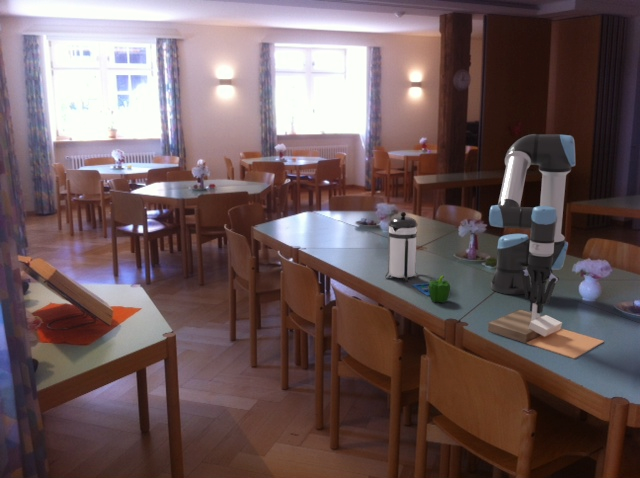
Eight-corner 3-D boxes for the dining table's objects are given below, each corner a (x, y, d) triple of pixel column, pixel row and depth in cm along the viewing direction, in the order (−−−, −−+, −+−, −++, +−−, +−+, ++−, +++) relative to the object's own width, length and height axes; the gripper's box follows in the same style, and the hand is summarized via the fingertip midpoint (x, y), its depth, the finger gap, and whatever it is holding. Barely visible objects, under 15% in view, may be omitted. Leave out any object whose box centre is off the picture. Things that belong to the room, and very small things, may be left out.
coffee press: (424, 282, 260) (426, 214, 254) (388, 283, 259) (389, 215, 252) (415, 271, 277) (417, 207, 271) (381, 272, 276) (382, 208, 269)
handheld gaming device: (427, 294, 241) (412, 283, 255) (427, 297, 242) (412, 286, 256) (446, 292, 244) (429, 282, 258) (445, 295, 244) (429, 284, 258)
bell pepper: (438, 305, 230) (439, 281, 228) (424, 300, 237) (425, 275, 235) (454, 302, 234) (455, 277, 232) (440, 296, 241) (441, 272, 239)
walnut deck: (519, 317, 217) (520, 309, 217) (556, 328, 207) (556, 320, 206) (488, 331, 205) (488, 322, 204) (525, 343, 194) (525, 334, 194)
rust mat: (557, 328, 207) (557, 327, 206) (603, 342, 195) (603, 341, 195) (526, 343, 194) (526, 342, 194) (574, 359, 182) (574, 357, 182)
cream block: (544, 321, 204) (546, 314, 203) (560, 329, 200) (562, 322, 199) (528, 328, 198) (530, 321, 197) (544, 336, 194) (546, 329, 193)
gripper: (517, 251, 198) (512, 318, 204) (553, 259, 189) (547, 329, 194) (529, 248, 203) (523, 313, 208) (565, 255, 194) (559, 324, 199)
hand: (535, 321), depth 201 cm, fingers closed
